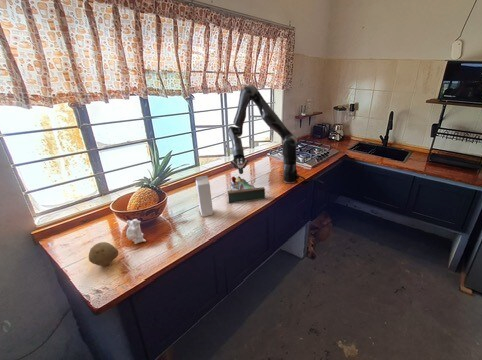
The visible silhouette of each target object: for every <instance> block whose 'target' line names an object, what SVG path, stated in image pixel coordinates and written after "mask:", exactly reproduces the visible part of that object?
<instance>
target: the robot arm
mask: <svg viewBox="0 0 482 360" xmlns="http://www.w3.org/2000/svg"><path fill="white" fill-rule="evenodd" d="M251 101H252V102H253V103H254V104H255V106H256V107H257V109H258V111H259V115H260V117H261V120H262V121H263V122H264V123H265V124H266V125H267V126H268V127H269V129H271V130H273V131H274V132H275V133H276V134H278V135H279V137H280V138H281V139H282V182H283V183H284V184H289V185H291V184H295V183H297V182H298V180H299V179H300V178H301V179H302V180H304V181H305V182H306V183H309V182H313V181H316V182H319V183H321V184H323V185H324V184H325V182H324V181H321V180H319V179H316V178H314V179H309V180H307V179H306V177H304V176H303V175H302V176H301V175H300V174H299V173H298V169H297V145H298V139H297V137H296V136H295V135H294V134H293V133H292V132H291V131H290V130H289V128H287V126H286V125H285V124H284V123H283V121H282V119H281V118H280V117H279V116H278V114H277V113H276V112H275V111H274V110H273V108H272V107H271V106H270V105H269V103H268V102H267V101H266V100H265V99H264V97H263V96H262V94H261V92H260V91H259V89H258V88H257V87H256V86H255V85H253V84H247V85H245V86H243V87H242V88H241V89H240V92H239V99H238V104H237V109H236V112H235V114H234V115H235V116H234V118H233V126H232V125H231V126H229V127H228V128H227V135H228V137H229V139H230V141H231V148H232V149H231V150H232V157H233V159H232V160H231V161H230V166H232V167H233V168H234V169H236V170H238V174H239V175H243V174H244V169H245V168H246V167H247V166H248V164H249V161H250V160H248V159H246V157H245V152H244V147H243V141H242V138H241V137H242V135H243V133H244V132H243V131H244V130H243V128H244V123H245V120H246V117H247V108H248V105H249V103H250V102H251Z"/></svg>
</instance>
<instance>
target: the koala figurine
mask: <svg viewBox="0 0 482 360" xmlns="http://www.w3.org/2000/svg"><path fill="white" fill-rule="evenodd" d="M141 222H142V221H141V220H138V218H134V219H132V220H130V219H128V220H126V224H127V225H128V227H127V229H126V233H125V235H126V238H127V239H128V240H129V241H132V242H133V243H134V245H137V244H140V243H145V242H147V240H146V239H145V238H144V234H145V233H143V232H142V229H141Z"/></svg>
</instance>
